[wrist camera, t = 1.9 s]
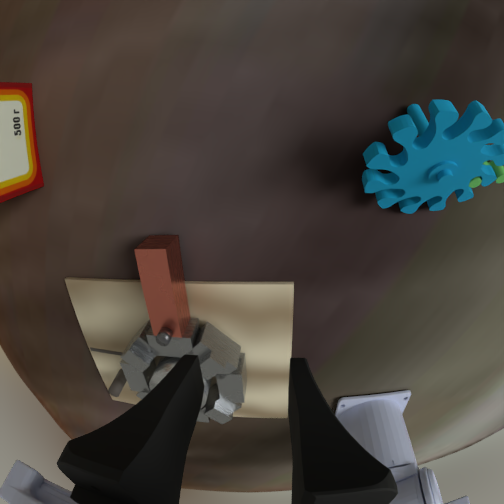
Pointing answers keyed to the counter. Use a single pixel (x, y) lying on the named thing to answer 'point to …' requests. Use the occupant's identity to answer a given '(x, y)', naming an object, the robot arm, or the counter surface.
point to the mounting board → (206, 309)
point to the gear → (436, 157)
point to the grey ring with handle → (180, 333)
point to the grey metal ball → (163, 370)
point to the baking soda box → (18, 142)
